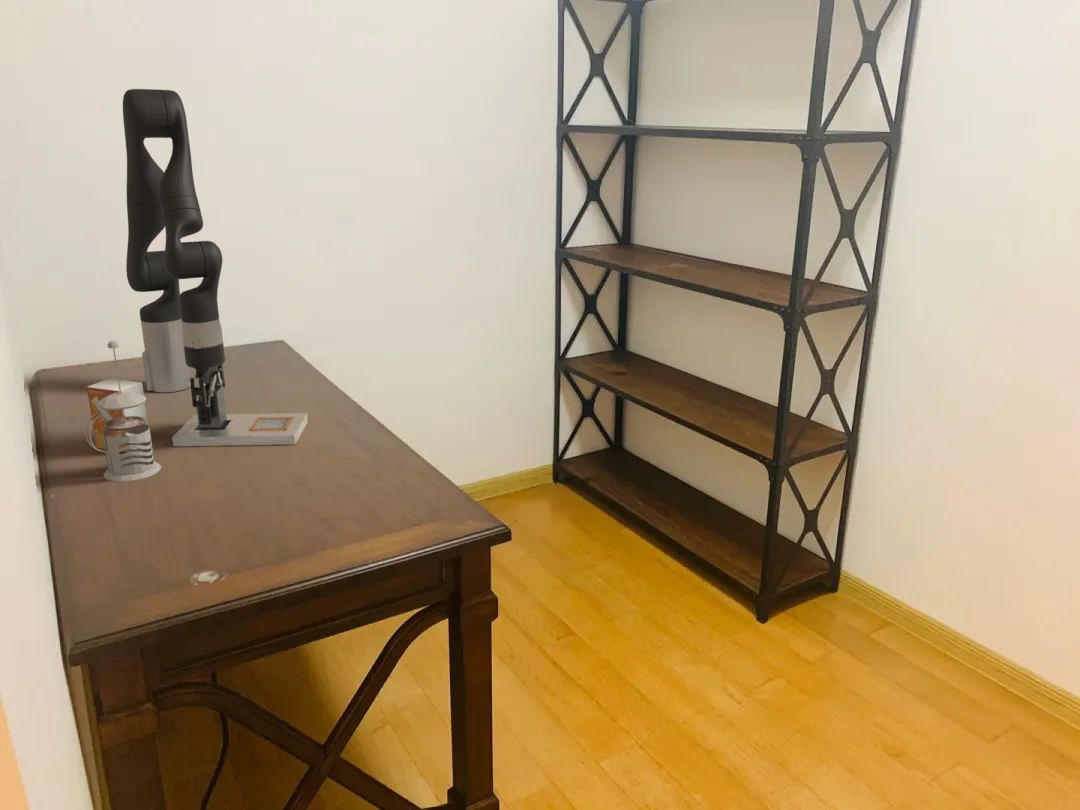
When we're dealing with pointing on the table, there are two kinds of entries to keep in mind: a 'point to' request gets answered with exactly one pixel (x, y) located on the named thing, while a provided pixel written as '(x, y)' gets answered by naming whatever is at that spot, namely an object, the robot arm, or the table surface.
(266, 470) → the table surface
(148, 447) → the french press
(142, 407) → the small box
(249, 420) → the rail plate
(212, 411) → the block with round knob
